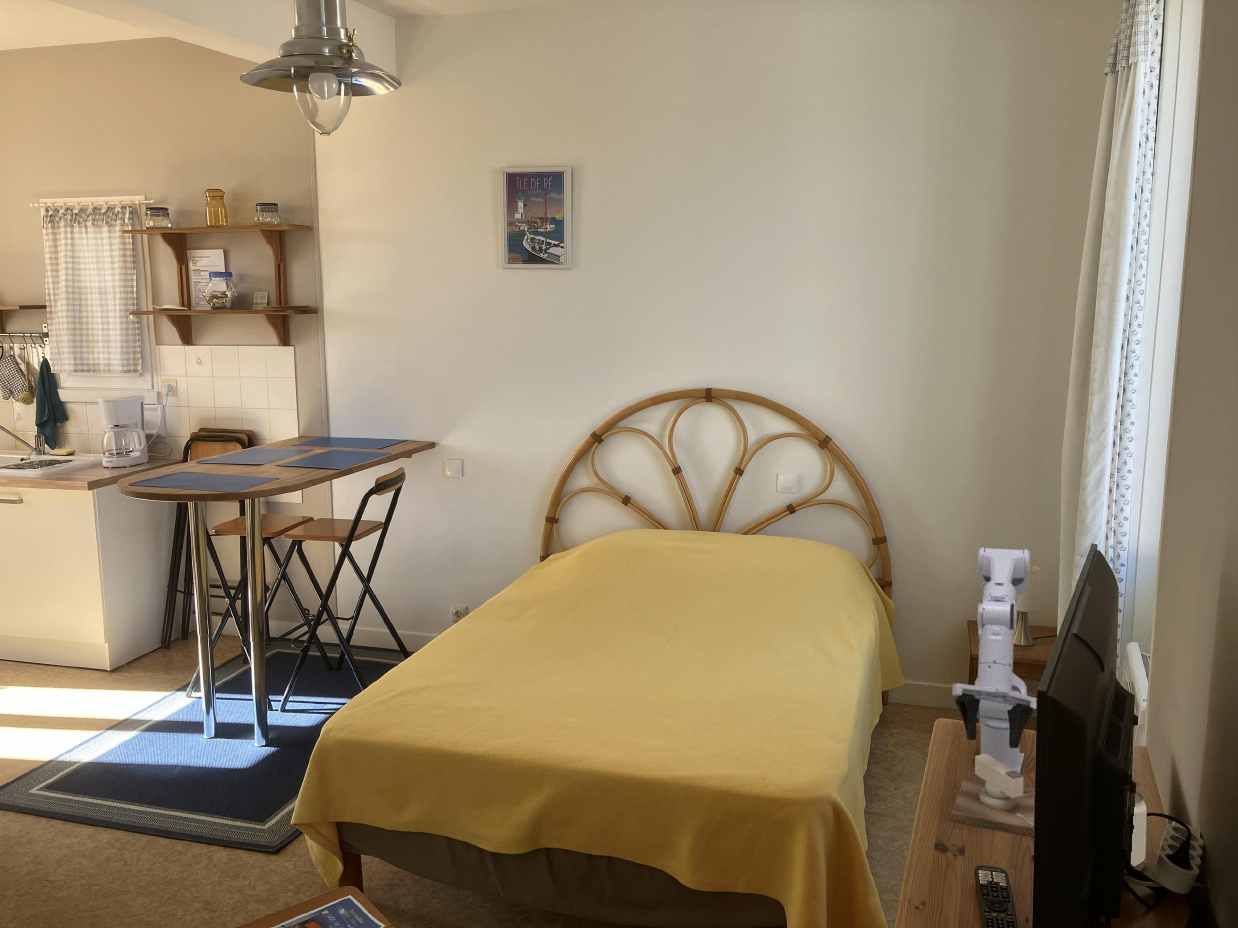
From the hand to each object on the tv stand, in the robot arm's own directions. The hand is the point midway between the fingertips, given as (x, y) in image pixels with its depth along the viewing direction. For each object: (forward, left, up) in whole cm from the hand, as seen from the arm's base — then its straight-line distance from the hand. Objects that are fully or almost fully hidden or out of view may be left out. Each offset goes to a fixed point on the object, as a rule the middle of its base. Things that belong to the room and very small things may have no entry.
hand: (992, 743), depth 167 cm
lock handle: (-5, 0, -11) cm, 12 cm away
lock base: (-5, 0, -14) cm, 15 cm away
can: (+6, +20, -15) cm, 26 cm away
